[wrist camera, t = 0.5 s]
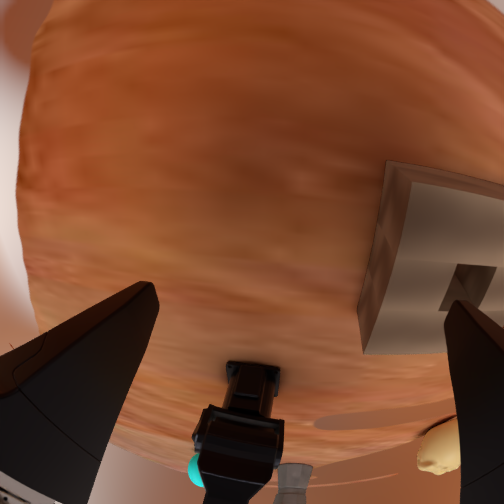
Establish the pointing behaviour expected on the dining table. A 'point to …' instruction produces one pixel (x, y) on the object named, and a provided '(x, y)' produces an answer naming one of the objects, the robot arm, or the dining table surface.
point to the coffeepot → (292, 483)
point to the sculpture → (440, 449)
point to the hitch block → (430, 258)
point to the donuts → (194, 471)
